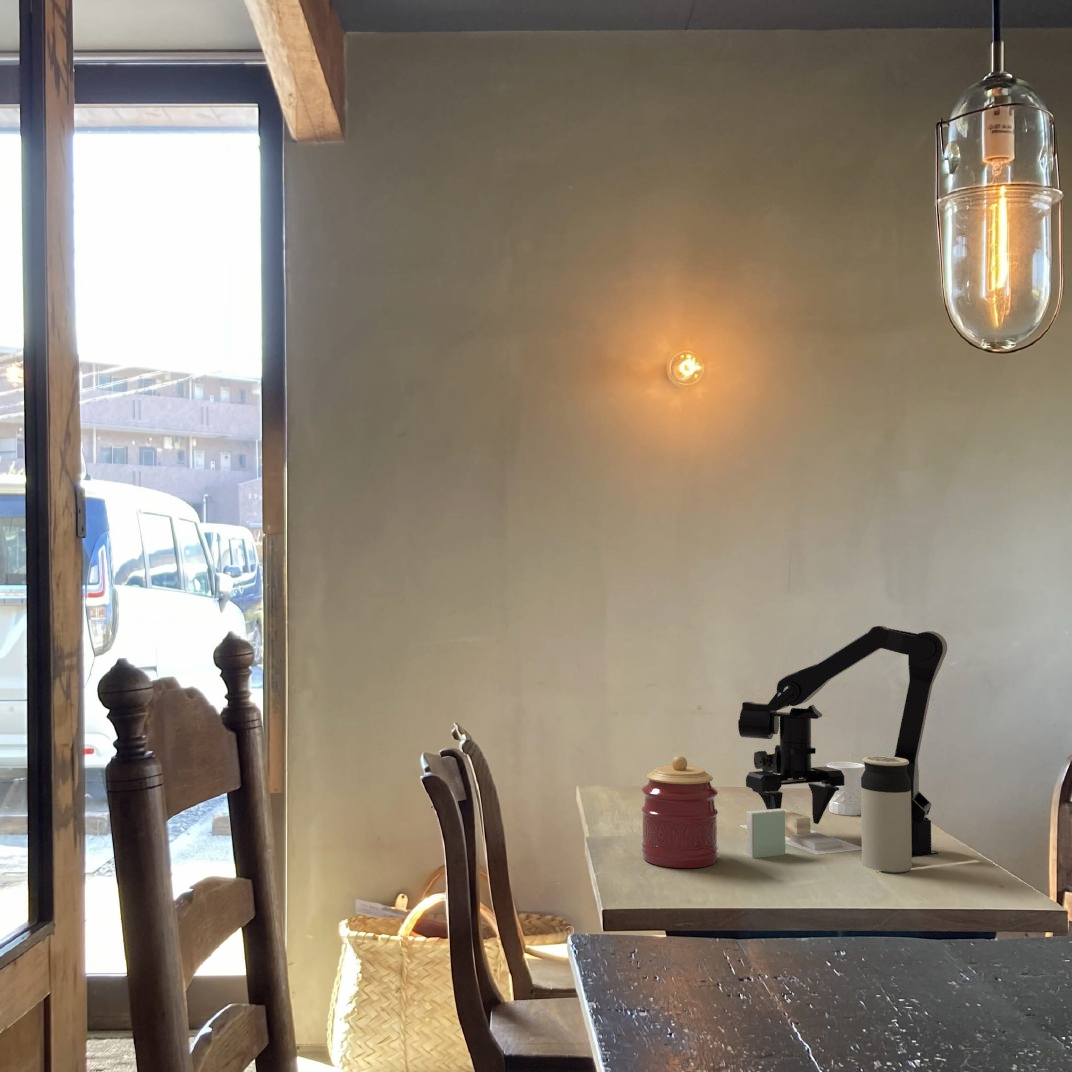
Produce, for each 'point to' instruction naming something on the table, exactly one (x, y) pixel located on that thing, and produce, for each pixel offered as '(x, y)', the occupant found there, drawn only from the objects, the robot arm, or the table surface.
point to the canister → (679, 817)
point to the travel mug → (886, 814)
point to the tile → (765, 833)
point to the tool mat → (844, 848)
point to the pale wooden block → (807, 833)
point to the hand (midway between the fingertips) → (795, 825)
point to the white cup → (847, 789)
